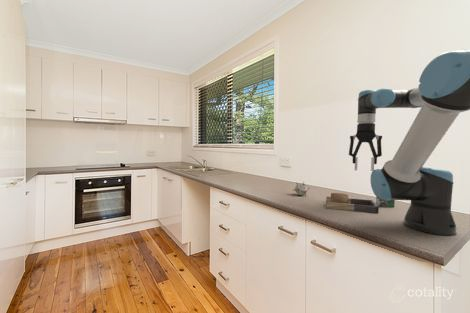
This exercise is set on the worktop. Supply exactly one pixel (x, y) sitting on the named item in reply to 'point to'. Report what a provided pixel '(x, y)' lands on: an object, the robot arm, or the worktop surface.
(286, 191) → the worktop surface
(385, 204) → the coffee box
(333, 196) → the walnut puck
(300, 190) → the grey succulent plant
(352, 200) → the channel
